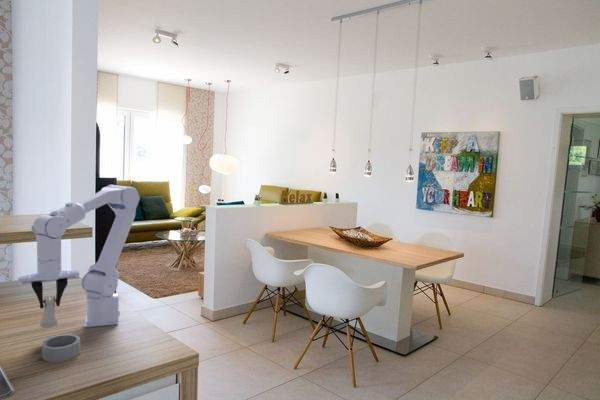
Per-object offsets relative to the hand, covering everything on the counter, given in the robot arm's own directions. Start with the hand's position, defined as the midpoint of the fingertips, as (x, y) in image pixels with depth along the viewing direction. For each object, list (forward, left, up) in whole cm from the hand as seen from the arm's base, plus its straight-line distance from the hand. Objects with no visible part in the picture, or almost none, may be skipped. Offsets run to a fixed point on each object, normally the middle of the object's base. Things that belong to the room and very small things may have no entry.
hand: (49, 306), depth 117 cm
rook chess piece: (0, 0, -6) cm, 6 cm away
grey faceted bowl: (-4, +9, -10) cm, 14 cm away
